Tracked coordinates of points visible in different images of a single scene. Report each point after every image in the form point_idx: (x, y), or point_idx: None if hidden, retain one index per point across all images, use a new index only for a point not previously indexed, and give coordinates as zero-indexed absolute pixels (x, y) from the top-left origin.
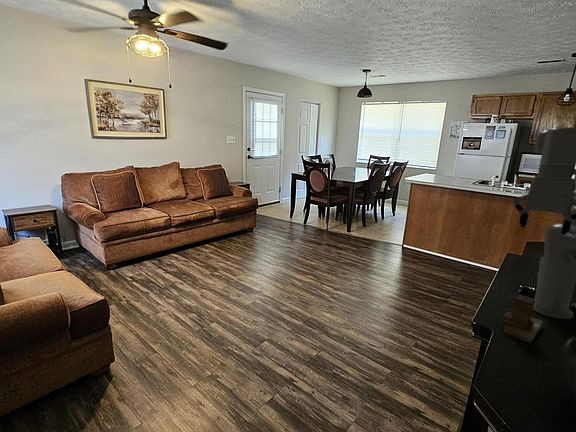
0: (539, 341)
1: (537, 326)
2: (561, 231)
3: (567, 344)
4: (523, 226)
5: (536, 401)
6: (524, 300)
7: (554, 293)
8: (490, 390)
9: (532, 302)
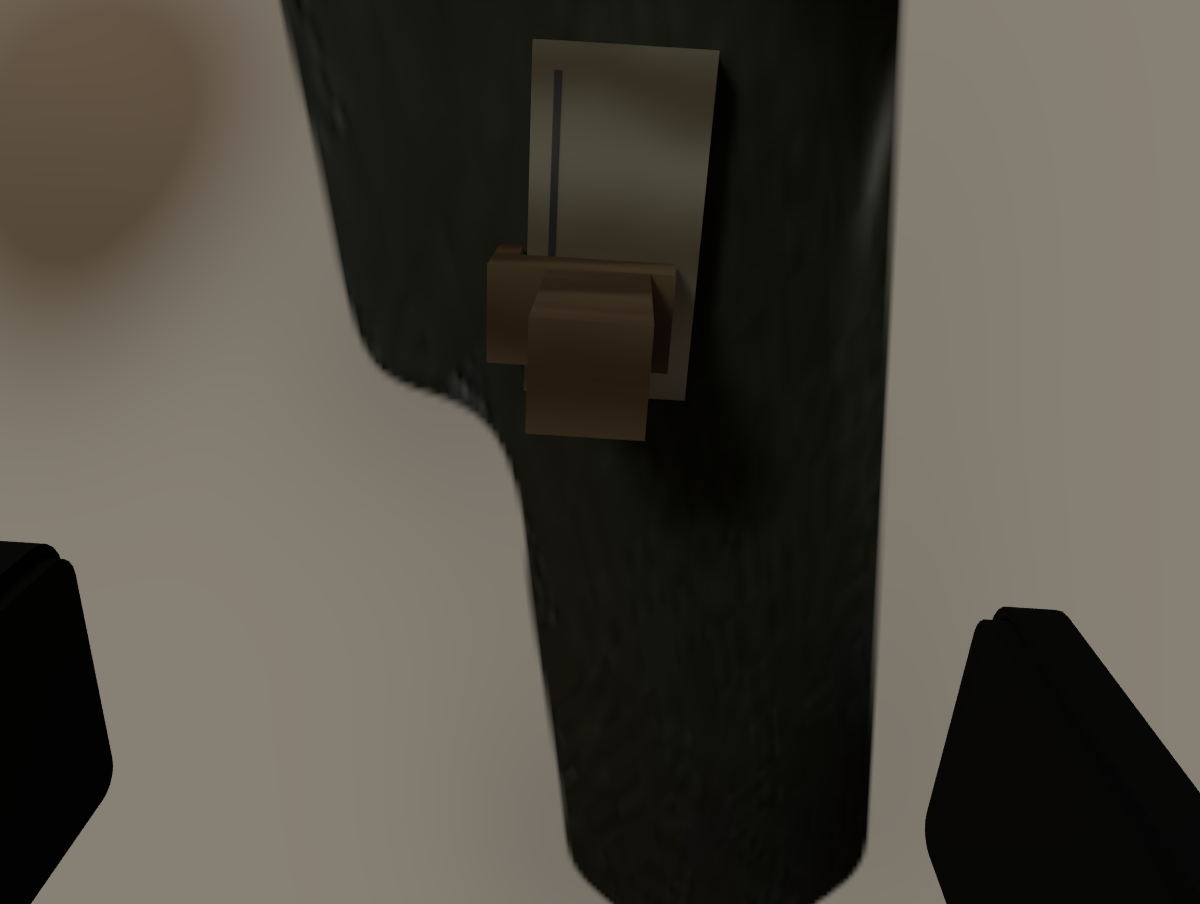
0: (724, 313)
1: (695, 196)
2: (942, 891)
3: (872, 207)
4: (102, 799)
5: (763, 825)
6: (592, 430)
7: None
8: (620, 875)
9: (647, 398)
